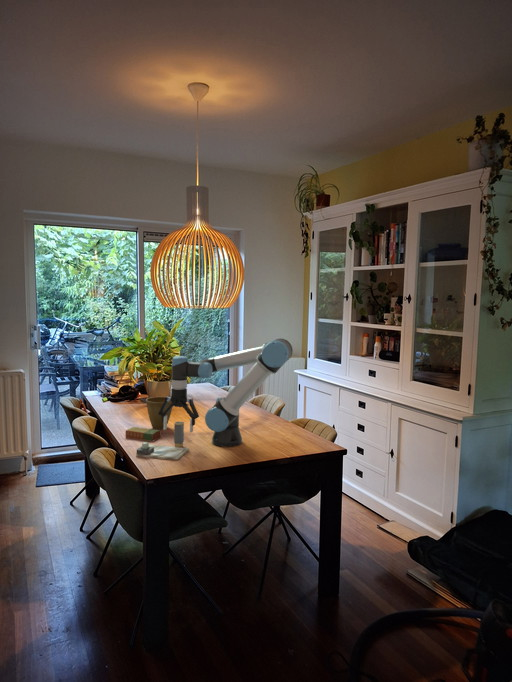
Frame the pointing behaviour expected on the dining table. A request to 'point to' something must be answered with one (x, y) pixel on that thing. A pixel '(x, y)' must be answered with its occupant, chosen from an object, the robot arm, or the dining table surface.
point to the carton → (143, 434)
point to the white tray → (162, 452)
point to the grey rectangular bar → (178, 434)
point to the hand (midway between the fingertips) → (178, 430)
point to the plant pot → (157, 411)
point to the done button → (145, 446)
